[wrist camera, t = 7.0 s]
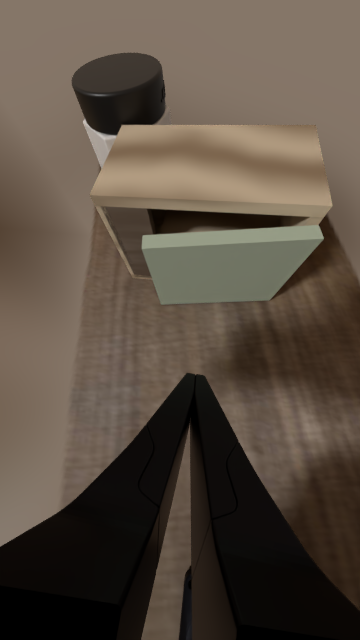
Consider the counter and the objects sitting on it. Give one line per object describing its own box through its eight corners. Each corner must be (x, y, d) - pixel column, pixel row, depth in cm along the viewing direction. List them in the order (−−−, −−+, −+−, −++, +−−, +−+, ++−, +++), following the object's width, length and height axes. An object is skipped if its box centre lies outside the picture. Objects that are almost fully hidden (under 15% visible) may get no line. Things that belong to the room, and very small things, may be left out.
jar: (187, 204, 26) (184, 69, 15) (141, 233, 25) (101, 106, 14) (152, 176, 29) (128, 43, 18) (109, 200, 28) (53, 72, 16)
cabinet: (267, 290, 21) (332, 205, 11) (132, 277, 22) (89, 195, 13) (265, 230, 24) (315, 125, 14) (147, 223, 25) (122, 124, 16)
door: (269, 300, 20) (324, 238, 12) (161, 304, 20) (141, 248, 12) (267, 290, 20) (318, 224, 12) (161, 295, 21) (142, 235, 13)
